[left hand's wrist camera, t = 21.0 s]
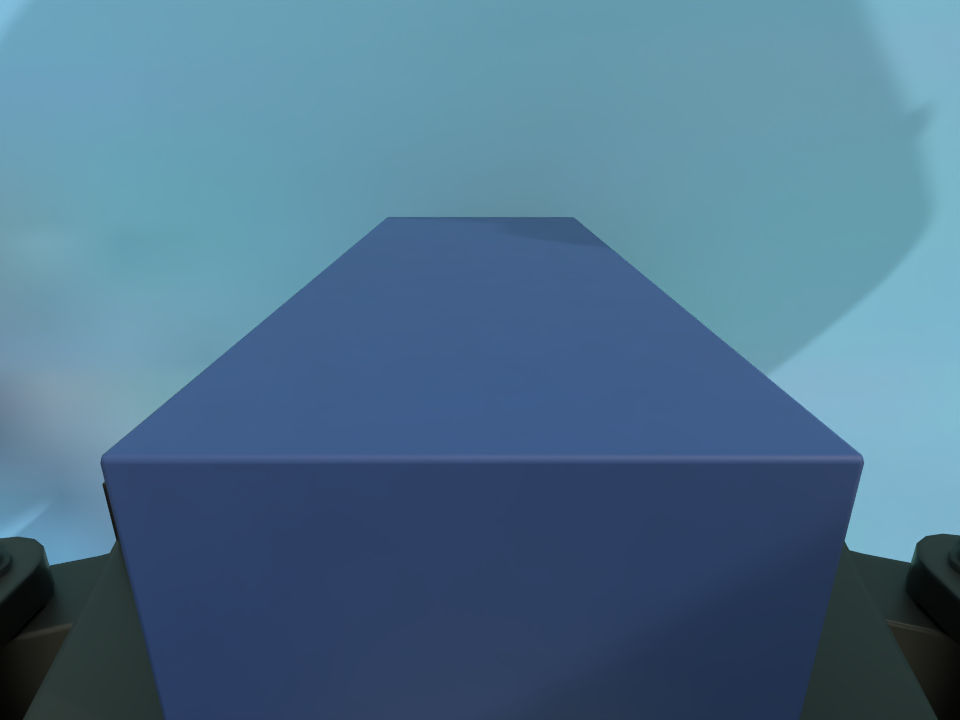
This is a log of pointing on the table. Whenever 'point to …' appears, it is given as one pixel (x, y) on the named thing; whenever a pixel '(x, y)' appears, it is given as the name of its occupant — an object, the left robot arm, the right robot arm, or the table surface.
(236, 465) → the brick
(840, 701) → the left robot arm
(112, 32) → the table surface
